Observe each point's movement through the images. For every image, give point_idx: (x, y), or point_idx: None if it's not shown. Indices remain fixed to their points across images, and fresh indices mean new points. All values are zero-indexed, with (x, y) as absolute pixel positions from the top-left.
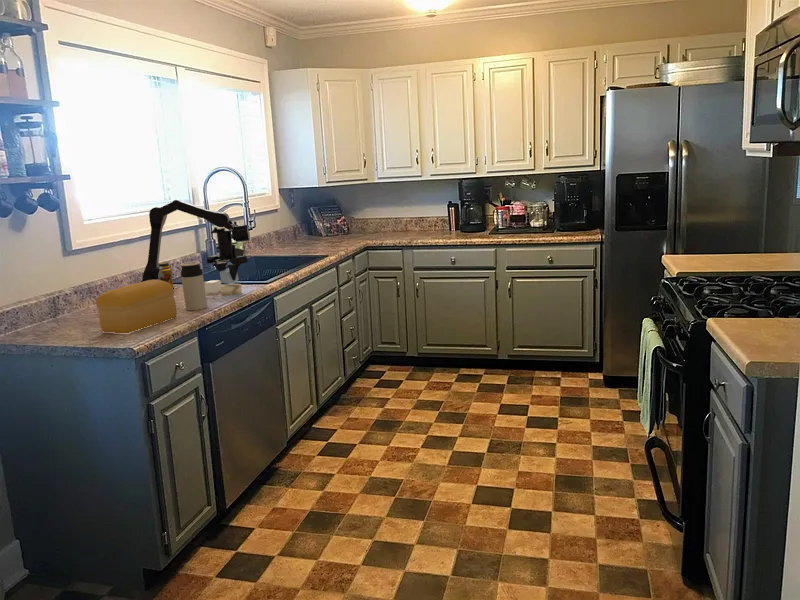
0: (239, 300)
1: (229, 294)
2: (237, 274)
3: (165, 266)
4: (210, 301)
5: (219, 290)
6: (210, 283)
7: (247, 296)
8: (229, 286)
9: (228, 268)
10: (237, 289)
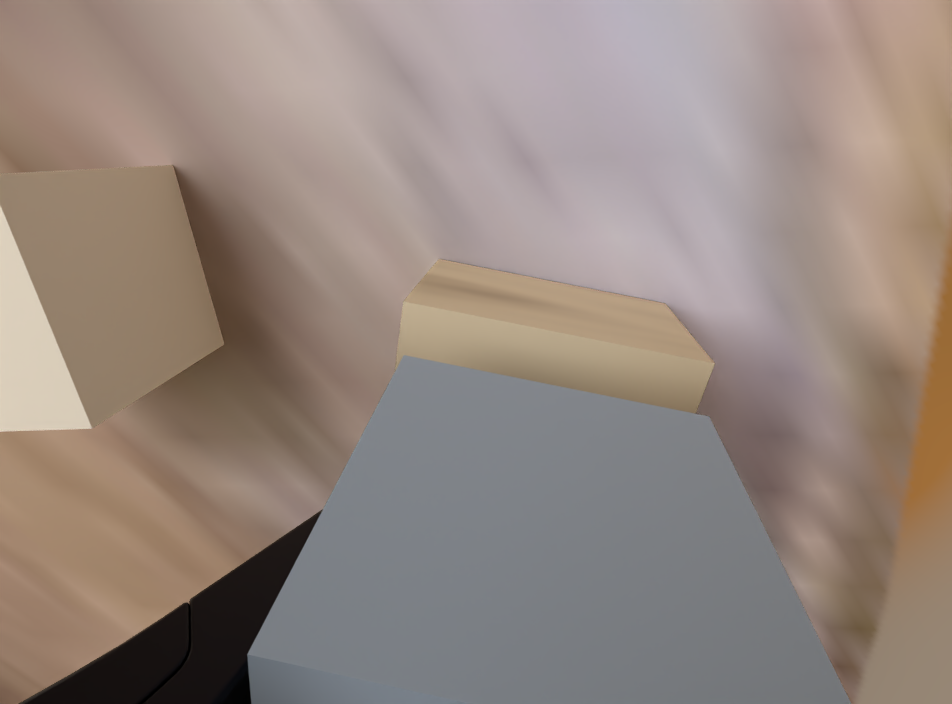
0: (850, 666)
1: None
2: (765, 545)
3: None
4: None
5: (176, 244)
6: (28, 423)
7: (875, 490)
8: None
9: (295, 677)
10: None
